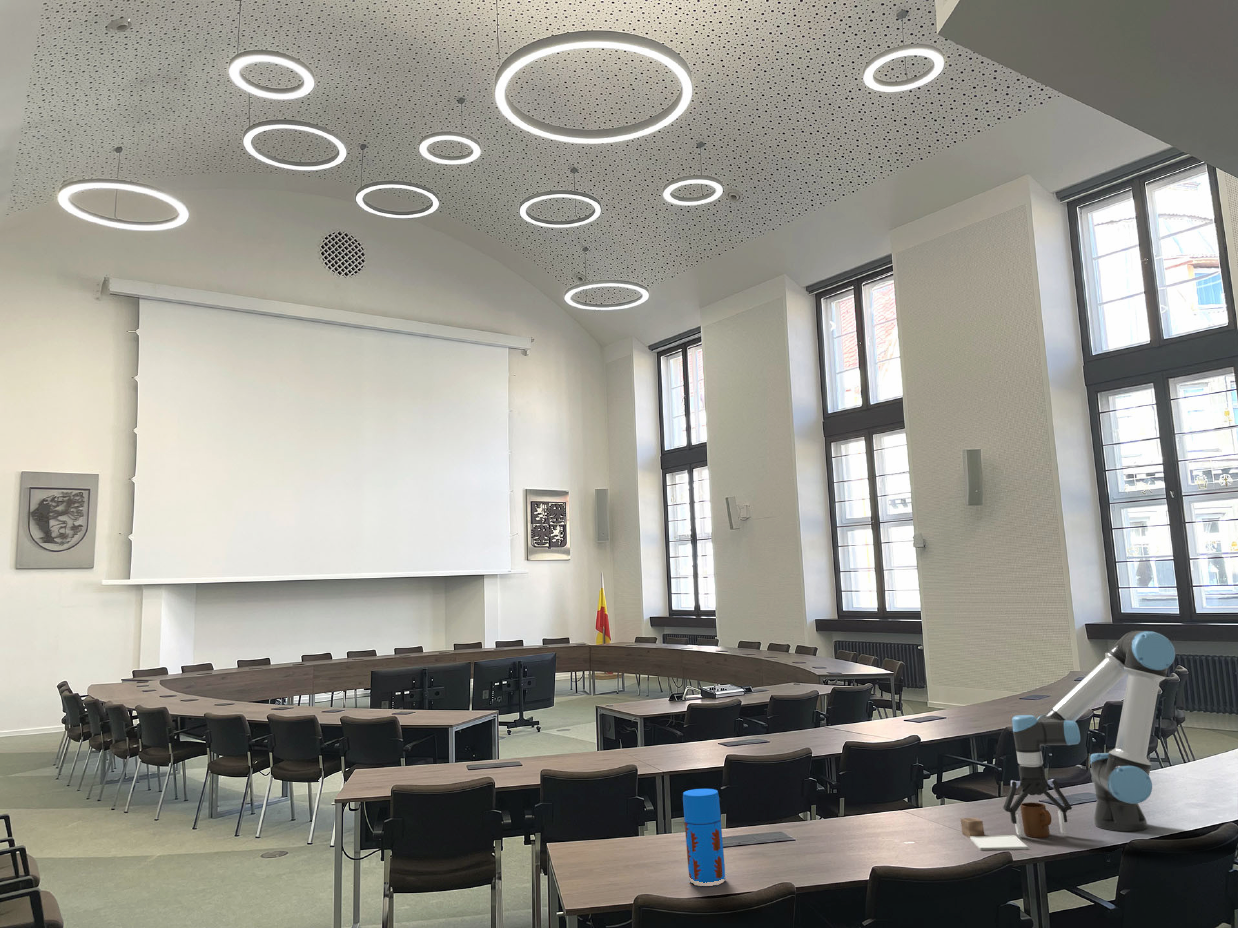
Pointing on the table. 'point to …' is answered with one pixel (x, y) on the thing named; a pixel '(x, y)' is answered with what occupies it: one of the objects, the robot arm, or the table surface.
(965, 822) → the walnut block
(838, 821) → the table surface
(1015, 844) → the felt mat
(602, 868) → the table surface
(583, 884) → the table surface
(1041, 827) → the mug
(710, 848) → the thermos
